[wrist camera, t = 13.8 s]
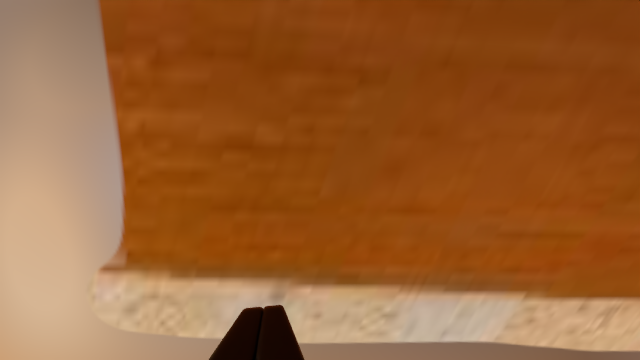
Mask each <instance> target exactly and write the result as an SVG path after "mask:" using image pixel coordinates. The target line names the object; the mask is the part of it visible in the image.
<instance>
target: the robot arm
mask: <svg viewBox="0 0 640 360" xmlns="http://www.w3.org/2000/svg"><path fill="white" fill-rule="evenodd" d="M209 360H304V357H303V355H302V352H301V350H300V347H299V345H298V342H297V340H296V337H295V335H294V332H293V330H292V327H291V325H290V322H289V320H288V317H287V315H286V312H285V310H284V307H283V306H282V305H276V306H266V307H265V308H264V309H263V308H262V307H254V308H246V309H244V310H243V311H242V312H241V313H240V315H239V316H238V318H237V319H236V321H235V322H234V324H233V325H232V327H231V328H230V329H229V331H228V332H227V334H226V335H225V337H224V338H223V340H222V341H221V342H220V344H219V345H218V347H217V348H216V350H215V351H214V353H213V354H212V355H211V357H210V359H209Z"/></svg>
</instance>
